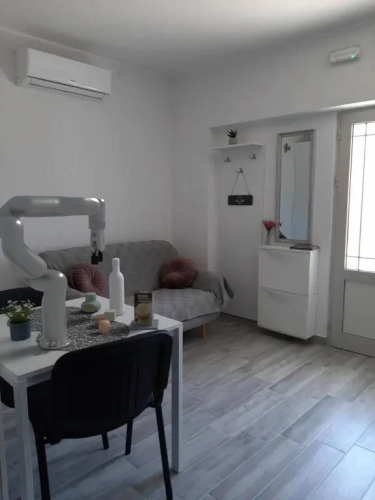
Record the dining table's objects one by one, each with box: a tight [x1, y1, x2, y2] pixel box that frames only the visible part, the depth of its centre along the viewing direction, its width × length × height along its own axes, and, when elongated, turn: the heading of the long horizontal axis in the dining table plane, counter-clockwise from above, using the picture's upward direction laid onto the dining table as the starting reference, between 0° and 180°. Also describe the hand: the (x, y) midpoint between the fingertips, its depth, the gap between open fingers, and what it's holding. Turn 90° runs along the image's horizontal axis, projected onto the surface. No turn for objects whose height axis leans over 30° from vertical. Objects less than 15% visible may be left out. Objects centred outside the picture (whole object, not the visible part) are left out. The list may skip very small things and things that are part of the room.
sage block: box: [103, 308, 117, 322], centre depth 197 cm, size 5×5×5 cm
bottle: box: [108, 257, 126, 317], centre depth 207 cm, size 8×8×30 cm
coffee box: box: [133, 289, 155, 326], centre depth 188 cm, size 9×6×16 cm
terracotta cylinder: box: [98, 320, 111, 335], centre depth 179 cm, size 5×5×5 cm
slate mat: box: [129, 318, 159, 331], centre depth 189 cm, size 13×13×1 cm
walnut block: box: [94, 314, 107, 329], centre depth 188 cm, size 5×5×5 cm
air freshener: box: [80, 291, 102, 314], centre depth 213 cm, size 11×8×10 cm
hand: (97, 263), depth 179 cm, fingers open, 9 cm apart
